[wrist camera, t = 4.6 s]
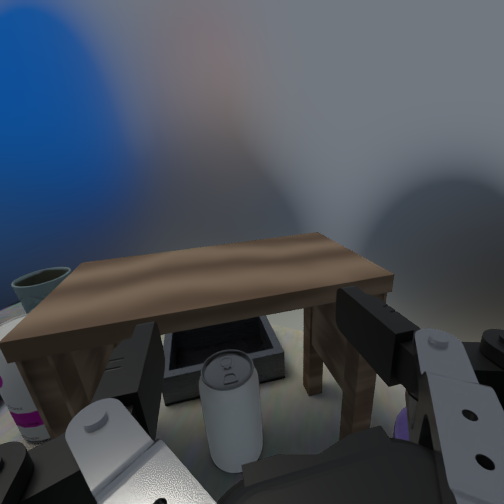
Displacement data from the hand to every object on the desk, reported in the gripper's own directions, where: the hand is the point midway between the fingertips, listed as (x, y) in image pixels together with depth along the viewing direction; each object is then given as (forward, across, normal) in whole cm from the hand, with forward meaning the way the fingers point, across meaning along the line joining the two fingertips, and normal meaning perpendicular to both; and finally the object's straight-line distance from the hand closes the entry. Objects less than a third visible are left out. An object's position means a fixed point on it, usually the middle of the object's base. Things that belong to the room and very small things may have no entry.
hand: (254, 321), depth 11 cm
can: (+13, -1, -26) cm, 29 cm away
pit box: (+27, -2, -26) cm, 37 cm away
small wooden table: (+13, -1, -26) cm, 29 cm away
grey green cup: (+49, -36, -25) cm, 66 cm away
